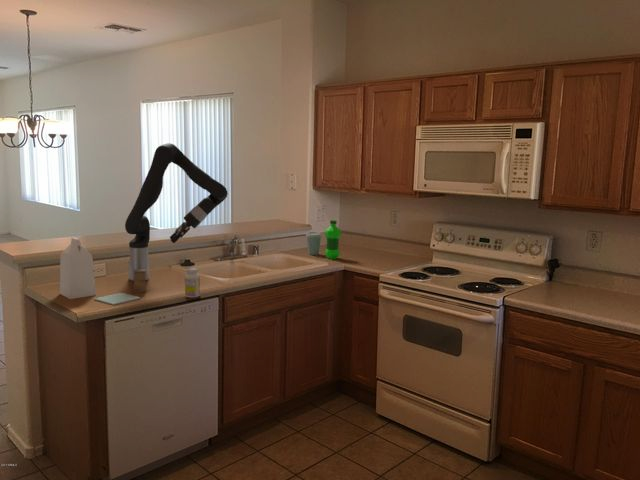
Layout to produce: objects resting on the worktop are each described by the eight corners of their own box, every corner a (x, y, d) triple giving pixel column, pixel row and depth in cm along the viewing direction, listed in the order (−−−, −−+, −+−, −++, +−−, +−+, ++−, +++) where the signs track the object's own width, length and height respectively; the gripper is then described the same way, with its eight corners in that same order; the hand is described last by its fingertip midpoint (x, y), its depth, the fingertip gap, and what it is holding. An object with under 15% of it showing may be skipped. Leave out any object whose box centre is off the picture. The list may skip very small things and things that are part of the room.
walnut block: (134, 290, 257) (134, 269, 256) (145, 289, 259) (145, 269, 257) (134, 292, 253) (134, 271, 251) (145, 291, 254) (145, 271, 253)
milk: (60, 293, 247) (57, 237, 243) (85, 290, 255) (83, 235, 251) (69, 299, 238) (67, 241, 234) (95, 295, 246) (93, 239, 242)
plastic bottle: (321, 258, 353) (322, 220, 349) (331, 256, 361) (332, 219, 357) (333, 260, 346) (334, 222, 342) (343, 258, 354) (344, 220, 350)
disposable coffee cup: (323, 255, 365) (324, 233, 362) (310, 256, 359) (310, 234, 357) (316, 252, 374) (316, 231, 371) (302, 253, 368) (303, 231, 366)
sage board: (94, 299, 238) (94, 298, 238) (121, 293, 249) (121, 292, 249) (113, 305, 230) (113, 303, 230) (140, 298, 242) (140, 297, 242)
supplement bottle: (193, 293, 254) (193, 267, 252) (202, 296, 249) (202, 269, 247) (182, 296, 248) (181, 269, 246) (191, 298, 244) (190, 271, 242)
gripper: (188, 209, 264) (164, 233, 262) (191, 212, 251) (166, 237, 249) (199, 220, 267) (176, 243, 265) (203, 223, 254) (178, 248, 251)
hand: (171, 240), depth 257 cm, fingers open, 8 cm apart
